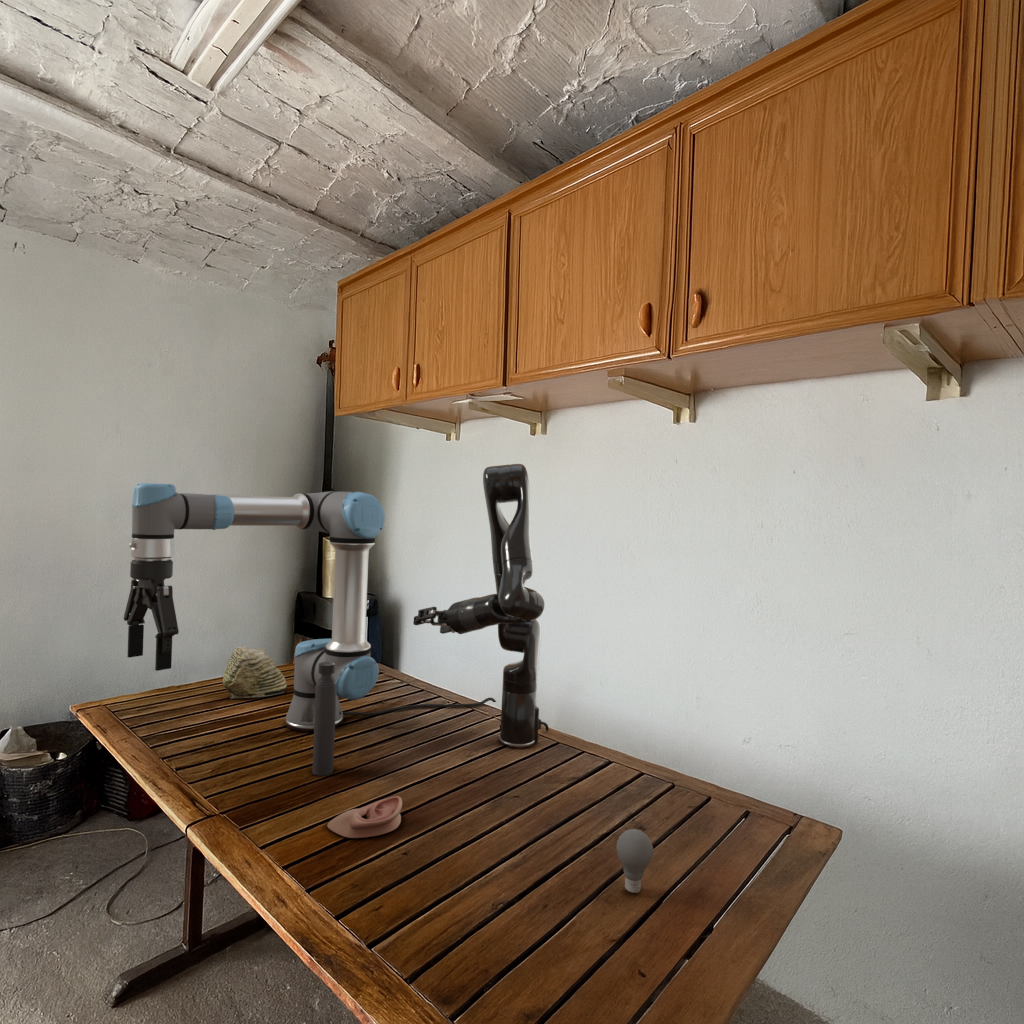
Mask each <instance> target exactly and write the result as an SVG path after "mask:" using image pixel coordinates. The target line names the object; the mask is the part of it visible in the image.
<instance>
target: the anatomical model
mask: <svg viewBox="0 0 1024 1024" xmlns="http://www.w3.org/2000/svg"><path fill="white" fill-rule="evenodd" d="M402 808H403V799H402V797H401V796H399V795H395V796H389V797H385V798H383V799H379V800H376V801H374V802H372V803H369V804H367V805H365V806H362V807H359V808H353V809H349V810H346V811H344V812H341V813H340V814H338V815H337V816H335V817H334V818H332V819H331V820H330V821H329V822H328V823H327V828H328V829H329V830H330V831H331V832H333V833H335V834H337V835H339V836H340V837H341V836H342V837H344V838H347V839H360V838H370V837H371V838H372V837H377V836H382V835H384V834H387V833H390V832H392V831H394V830H396V829H397V828H398V827H399V826H400V824H401V822H402V815H401V811H402Z"/></svg>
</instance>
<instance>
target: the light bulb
mask: <svg viewBox="0 0 1024 1024" xmlns="http://www.w3.org/2000/svg"><path fill="white" fill-rule="evenodd" d="M615 849H616V854H617V857H618V859H619V861H620V863H621V865H622V867H623V873H624V874H623V875H624V876H625V878H624V888H625V890H627V891H628V892H630V893H634V894H635V893H639V892H640V891H641V889H642V887H641V886H642V879H643V877H644V875H645V871H646V868H647V867H648V866H649V864H650V863H651V861H652V859H653V855H654V847H653V843H652V841H651V838H649V836H648V835H647V834H646V833H645V832H643V831H642V830H641V829H636V828H629V829H627V830H625V831H623V832H622V833H621V834H620V835H619V837H618V839H617V841H616V847H615Z"/></svg>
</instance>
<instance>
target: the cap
mask: <svg viewBox="0 0 1024 1024" xmlns="http://www.w3.org/2000/svg"><path fill="white" fill-rule="evenodd" d="M318 673H319V674H324V675H328V674H333V673H335V663H334V662H321V663H319V669H318Z"/></svg>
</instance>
